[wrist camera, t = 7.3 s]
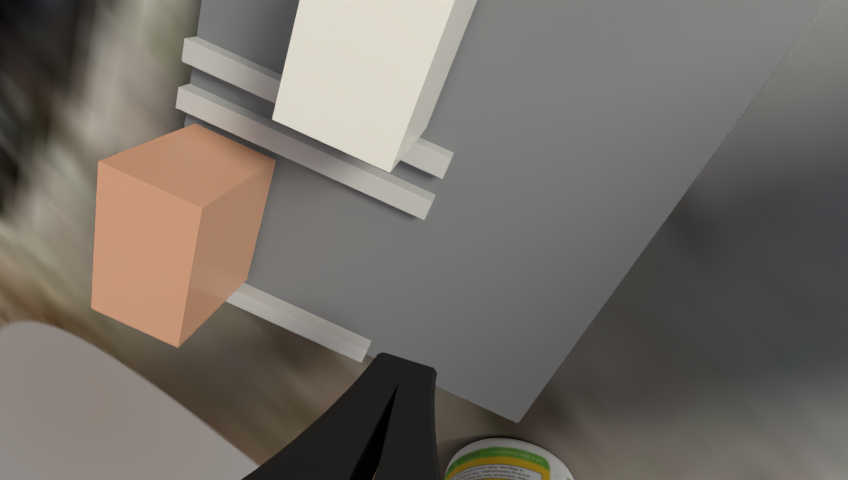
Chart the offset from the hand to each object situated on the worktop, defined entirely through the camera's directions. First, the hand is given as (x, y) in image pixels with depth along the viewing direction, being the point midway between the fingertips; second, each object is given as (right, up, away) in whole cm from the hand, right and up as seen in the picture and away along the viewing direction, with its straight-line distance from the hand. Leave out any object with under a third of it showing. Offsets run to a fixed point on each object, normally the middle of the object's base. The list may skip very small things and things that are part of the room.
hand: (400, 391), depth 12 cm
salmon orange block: (-5, +5, +3) cm, 8 cm away
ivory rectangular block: (0, +9, 0) cm, 9 cm away
